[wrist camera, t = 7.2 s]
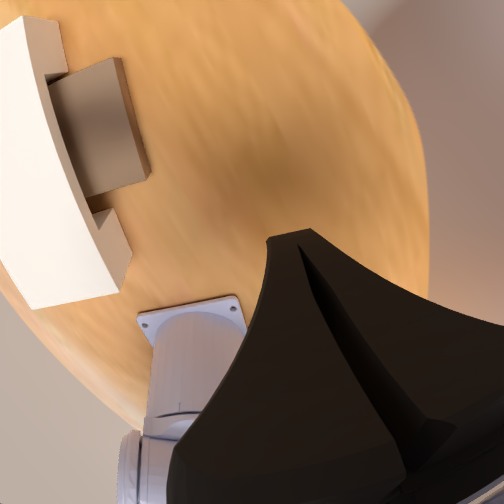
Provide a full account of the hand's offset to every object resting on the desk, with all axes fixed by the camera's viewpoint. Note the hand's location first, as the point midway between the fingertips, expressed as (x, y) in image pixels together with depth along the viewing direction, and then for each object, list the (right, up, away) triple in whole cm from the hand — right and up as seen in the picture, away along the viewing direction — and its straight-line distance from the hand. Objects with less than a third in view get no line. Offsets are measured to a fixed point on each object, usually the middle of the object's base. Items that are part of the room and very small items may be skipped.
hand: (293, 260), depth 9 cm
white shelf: (-14, +6, +6) cm, 16 cm away
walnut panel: (-12, +7, +6) cm, 15 cm away
